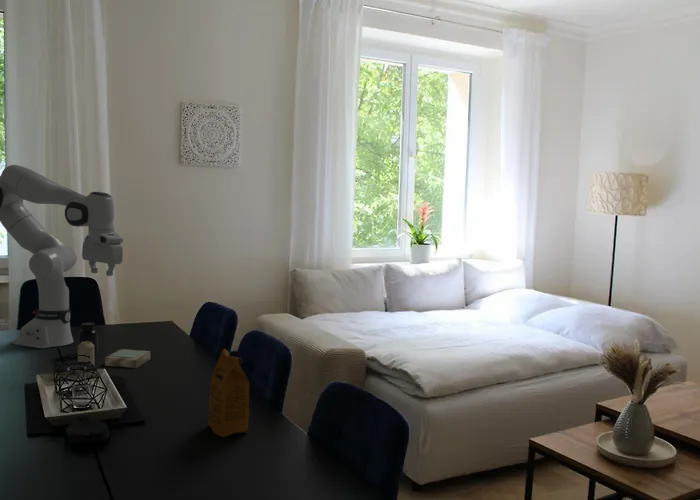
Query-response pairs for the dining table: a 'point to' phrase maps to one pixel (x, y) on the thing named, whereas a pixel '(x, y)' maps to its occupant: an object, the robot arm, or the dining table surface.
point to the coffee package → (228, 397)
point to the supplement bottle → (89, 335)
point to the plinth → (127, 358)
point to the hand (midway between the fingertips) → (101, 274)
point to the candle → (86, 352)
